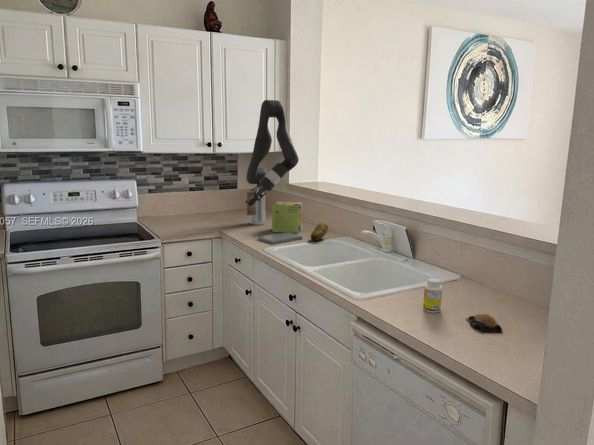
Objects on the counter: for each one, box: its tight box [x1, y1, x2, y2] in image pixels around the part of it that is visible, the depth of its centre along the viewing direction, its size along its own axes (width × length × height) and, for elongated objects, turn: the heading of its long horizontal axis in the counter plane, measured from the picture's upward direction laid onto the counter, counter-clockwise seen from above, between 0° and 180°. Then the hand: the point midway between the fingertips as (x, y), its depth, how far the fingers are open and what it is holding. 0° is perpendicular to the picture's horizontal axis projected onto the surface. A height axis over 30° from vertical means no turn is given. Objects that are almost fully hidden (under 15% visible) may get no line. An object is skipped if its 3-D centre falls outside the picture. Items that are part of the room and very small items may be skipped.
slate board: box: [257, 232, 303, 245], centre depth 251 cm, size 13×19×2 cm
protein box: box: [271, 201, 303, 234], centre depth 271 cm, size 10×15×16 cm
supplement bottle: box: [423, 277, 443, 314], centre depth 155 cm, size 6×6×10 cm
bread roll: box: [465, 313, 504, 334], centre depth 144 cm, size 11×8×4 cm
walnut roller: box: [246, 190, 256, 216], centre depth 251 cm, size 5×5×12 cm
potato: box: [310, 223, 329, 242], centre depth 250 cm, size 8×13×8 cm, turn 133°
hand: (247, 204), depth 250 cm, fingers closed on walnut roller, 4 cm apart
